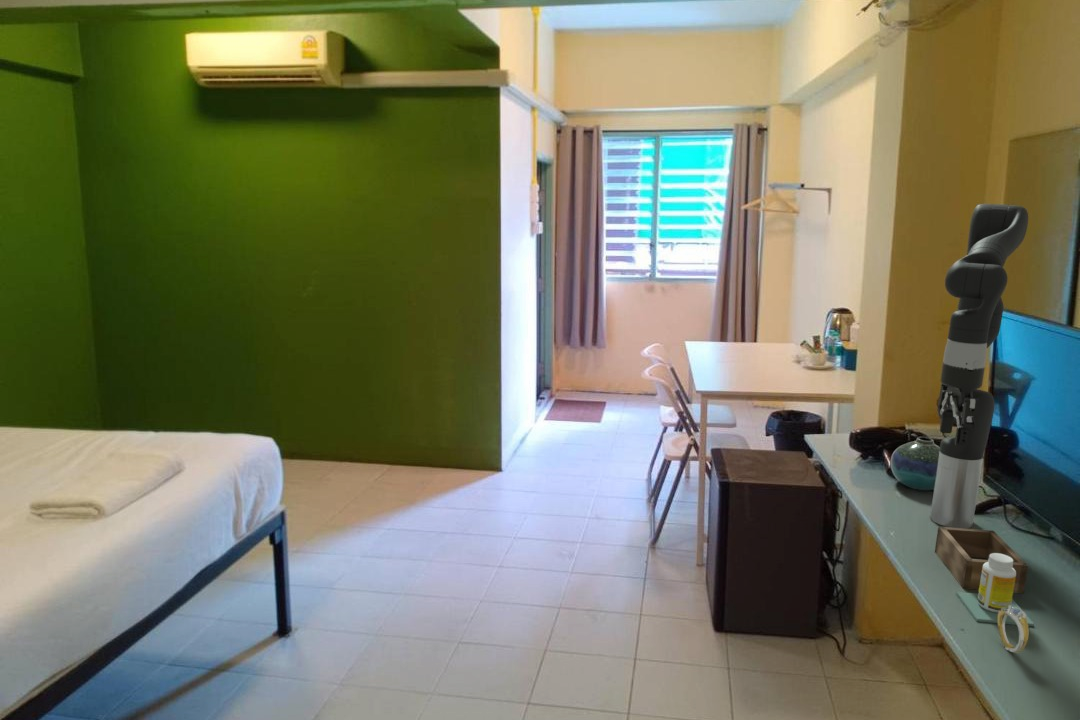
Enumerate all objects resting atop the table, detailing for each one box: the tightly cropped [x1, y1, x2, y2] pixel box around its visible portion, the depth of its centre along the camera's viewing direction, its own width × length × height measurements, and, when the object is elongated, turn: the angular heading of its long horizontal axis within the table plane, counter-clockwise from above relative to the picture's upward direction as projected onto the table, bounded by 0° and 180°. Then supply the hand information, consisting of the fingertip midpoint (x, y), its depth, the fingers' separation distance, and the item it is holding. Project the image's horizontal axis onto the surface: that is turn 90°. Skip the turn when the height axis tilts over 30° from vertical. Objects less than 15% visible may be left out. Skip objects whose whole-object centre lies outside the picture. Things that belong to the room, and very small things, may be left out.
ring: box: [997, 605, 1030, 653], centre depth 137 cm, size 7×3×8 cm, turn 175°
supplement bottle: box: [977, 553, 1016, 613], centre depth 150 cm, size 6×6×10 cm
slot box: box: [934, 526, 1029, 594], centre depth 166 cm, size 16×11×6 cm
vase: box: [890, 436, 940, 491], centre depth 212 cm, size 15×15×13 cm
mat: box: [955, 591, 1035, 627], centre depth 151 cm, size 10×10×1 cm
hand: (952, 439), depth 163 cm, fingers open, 8 cm apart
